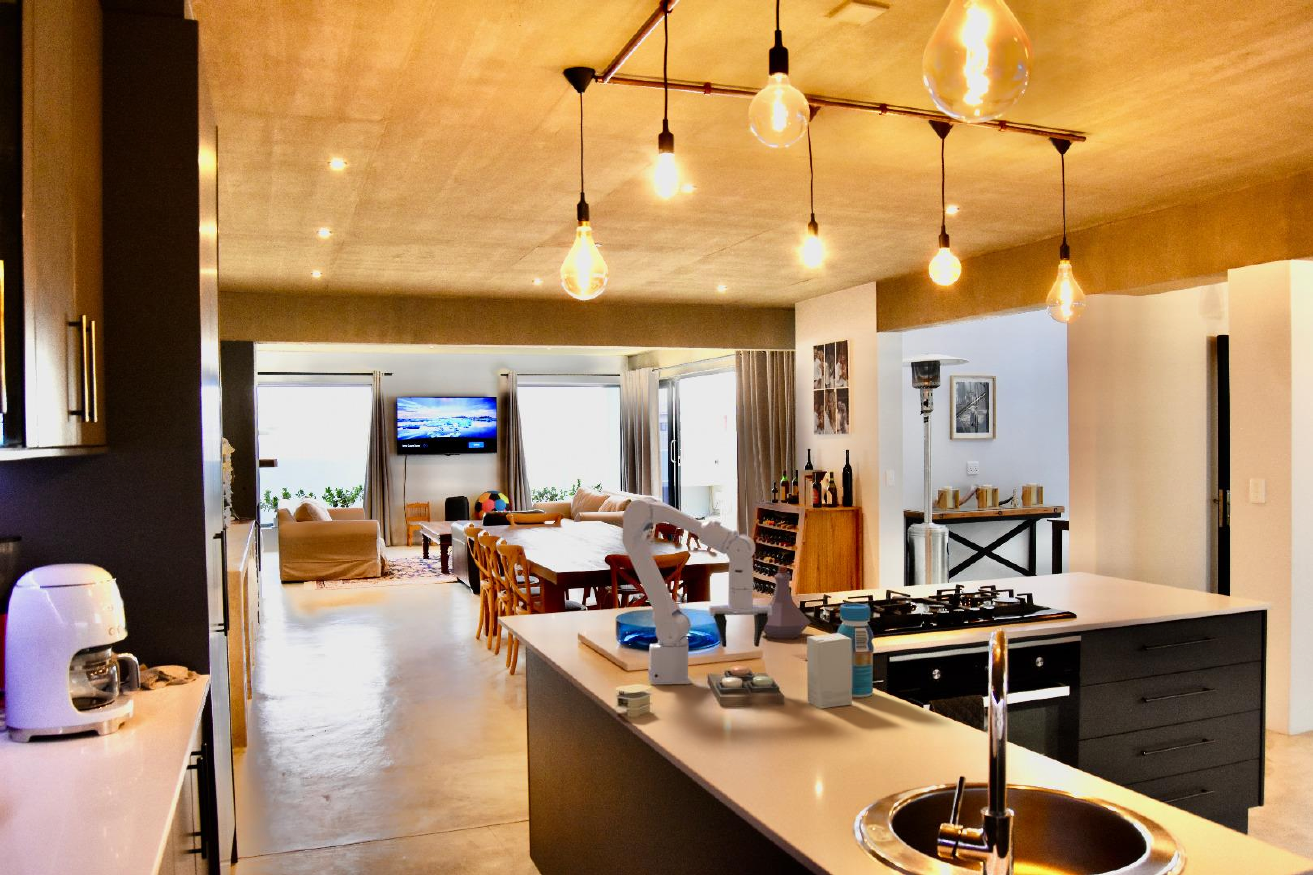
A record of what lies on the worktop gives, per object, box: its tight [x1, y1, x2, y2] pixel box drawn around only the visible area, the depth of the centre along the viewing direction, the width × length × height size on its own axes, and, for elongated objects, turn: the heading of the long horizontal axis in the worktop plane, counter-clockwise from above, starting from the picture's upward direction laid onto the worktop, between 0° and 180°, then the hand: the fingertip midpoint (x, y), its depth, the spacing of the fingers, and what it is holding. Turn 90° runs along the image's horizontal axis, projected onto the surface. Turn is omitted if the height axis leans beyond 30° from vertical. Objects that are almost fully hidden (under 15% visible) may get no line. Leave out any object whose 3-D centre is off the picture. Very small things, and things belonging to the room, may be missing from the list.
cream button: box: [722, 677, 742, 688], centre depth 218 cm, size 4×4×1 cm
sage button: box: [753, 676, 774, 687], centre depth 220 cm, size 4×4×1 cm
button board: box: [707, 669, 785, 707], centre depth 223 cm, size 14×20×3 cm
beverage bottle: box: [836, 602, 875, 699], centre depth 223 cm, size 8×8×20 cm
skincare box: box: [806, 632, 853, 710], centre depth 215 cm, size 8×6×15 cm
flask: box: [762, 565, 811, 640], centre depth 286 cm, size 16×16×20 cm
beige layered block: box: [614, 683, 653, 718], centre depth 208 cm, size 10×9×6 cm
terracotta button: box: [729, 665, 750, 676], centre depth 229 cm, size 4×4×1 cm
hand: (740, 645), depth 229 cm, fingers open, 7 cm apart
